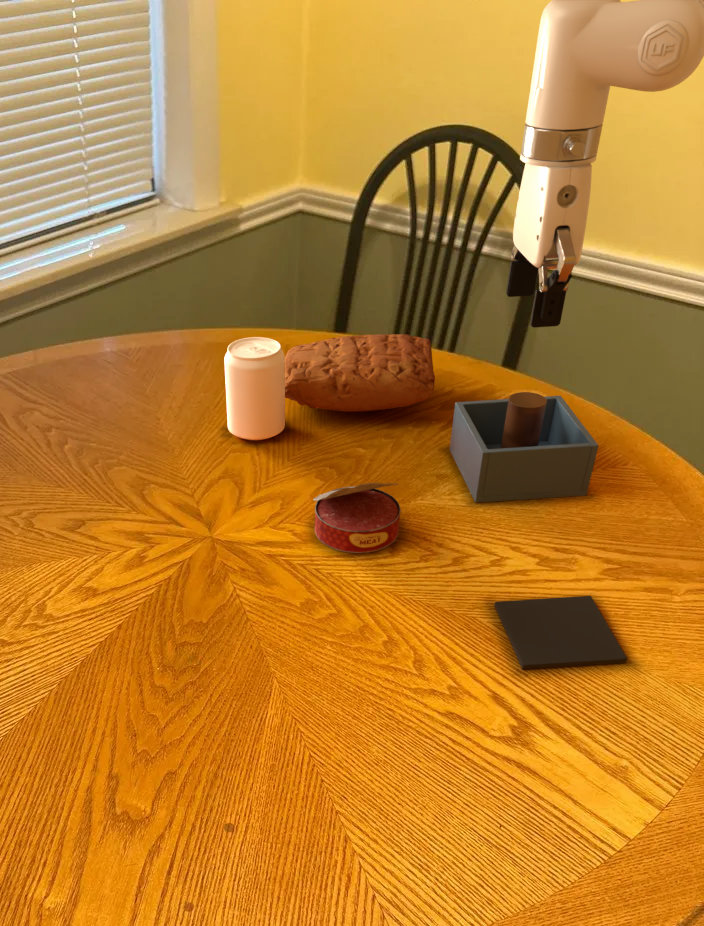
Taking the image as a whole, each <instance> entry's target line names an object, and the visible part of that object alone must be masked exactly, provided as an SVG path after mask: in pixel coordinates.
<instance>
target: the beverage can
mask: <svg viewBox="0 0 704 926" xmlns="http://www.w3.org/2000/svg"><path fill="white" fill-rule="evenodd" d="M285 357H286V355H285V353H284V351H283V349H282V345H281V343H280V342H279V341H277V340H275V339H273V338H270V337H263V336H252V337H251V336H250V337H243V338H239V339H236V340H234V341H232V342H231V343H229V345H228V346H227V351H226V352H225V355H224V359H223V363H224V381H225V398H226V400H225V402H226V418H227V419H226V420H227V430H228V431H229V432H230V433H231V434H232V435H233V436H234V437H237V438H240V439H243V440H248V441H262V440H267V439H270V438H272V437H275V436H277V435H279V434H281V433H282V432H283V431H284V429H285V427H286V397H285Z"/></svg>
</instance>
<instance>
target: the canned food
mask: <svg viewBox="0 0 704 926" xmlns="http://www.w3.org/2000/svg"><path fill="white" fill-rule="evenodd" d="M395 485H399V483H389V482H388V483H384V482H368V483H362V484H358V485H355V486H353V485H352V486H344V487H339V488H335V489H332V490H329V491H327V492H325V493H321V494H319V495H318V496H316V497H314V498H313V502H315V506H314V510H315V511H314V513H315V514H314V518H315V519H314V533H315V537H317V539H318V541H319V542H320V543H322V544H323V545H324V546H325V547H326V546H327V547H328V548H330V549H333V550H336V551H338V552H343V553H348V554H349V553H350V554H366V553H368V554H369V553H374V552H377V551H380V550H383V549H386V548H387V547H389V546H390V545H392V544H393V543H394V542H395V541H396V539H397V538H398V536H399V533H400V532H399V531H400V530H399V529H400V518H401V512H402V510H401V505H400V503H399V501H398V500H397V499H396V498H395V497H394V496H393V495H392V494H390V493H388V492H385V491H384V490H381V489H380V488H385V487H390V486H391V487H392V486H395Z"/></svg>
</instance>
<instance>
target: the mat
mask: <svg viewBox="0 0 704 926" xmlns="http://www.w3.org/2000/svg"><path fill="white" fill-rule="evenodd" d="M493 606H494V609H495V611H496V613H497V615H498V617H499V620H500V623H501V624H502V627H503V629H504V631H505V634H506V636H507V638H508V641H509V643H510V645H511V647H512V649H513V652H514V654H515V657H516V658H517V661H518V663H519V665H520V668H521V670H535V669H536V670H537V669H551V668H568V667H569V668H570V667H583V666H585V667H586V666H599V665H614V664H615V665H617V664H626V663H627V661H628V657H627V655H626V653H625V651H624V650H623V648H622V647H621V645H620V643H619V642H618V640H617V638H616V636H615V635H614V633H613V631H612V630H611V628H610V626H609V625H608V623H607V621H606V619H605V618H604V616H603V614H602V613H601V611H600V609H599V607H598V605H597V603H596V602H595V601H594V599H593V597H592V596H591V595H581V596H580V595H579V596H578V595H577V596H564V597H563V596H562V597H548V598H534V599H533V598H532V599H517V600H516V599H515V600H501V601H494V605H493Z"/></svg>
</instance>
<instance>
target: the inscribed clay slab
mask: <svg viewBox="0 0 704 926" xmlns="http://www.w3.org/2000/svg"><path fill="white" fill-rule="evenodd" d="M433 361H434V360H433V350H432V344H431V340H430V339H429V338H424V337H423V338H422V337H420V336H416V335H414V336H412V335H410V334H407V333H402V334H401V333H399V334H398V333H397V334H396V333H395V334H394V333H393V334H388V333H387V334H385V333H383V334H381V333H379V334H363V335H362V334H359V335H346V336H337V337H331V338H327V339H323V340H317V341H313V342H309V343H304V344H301V345H300V344H298V345H295V346H293V347H291V348H290V349H288V350H287V352H286V355H285V399H289V400H291V401H295V402H296V403H297V404H299V405H301V406H307V407H308V408H311V409H320V410H330V411H338V412H369V411H378V410H389V409H395V408H404V407H408V406H411V405H414V404H416V403H419V402H423V401H425V400H427V399H429V398H430V397H431V396H432V394H433V392H434V390H435V383H436V376H435V372H434V362H433Z"/></svg>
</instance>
